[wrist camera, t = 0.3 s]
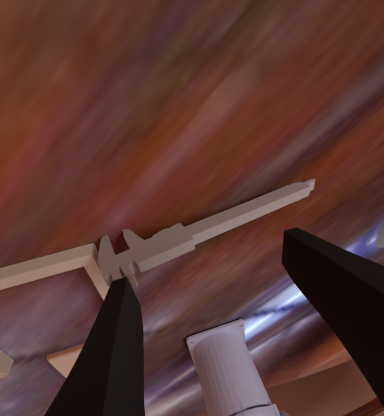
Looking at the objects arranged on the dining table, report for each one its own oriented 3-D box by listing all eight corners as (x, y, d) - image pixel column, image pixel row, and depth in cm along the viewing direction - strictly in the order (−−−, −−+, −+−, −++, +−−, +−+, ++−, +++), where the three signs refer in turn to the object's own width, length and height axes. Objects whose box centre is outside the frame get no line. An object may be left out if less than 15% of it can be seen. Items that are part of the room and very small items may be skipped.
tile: (119, 358, 29) (118, 368, 28) (72, 373, 29) (70, 384, 28) (102, 333, 26) (100, 343, 25) (49, 350, 26) (45, 361, 25)
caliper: (105, 243, 20) (98, 302, 15) (101, 233, 20) (91, 291, 14) (310, 186, 23) (366, 219, 17) (312, 176, 22) (370, 208, 17)
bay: (134, 321, 26) (134, 334, 25) (4, 363, 24) (-3, 379, 23) (93, 242, 19) (91, 254, 18) (-87, 291, 18) (-104, 307, 16)
